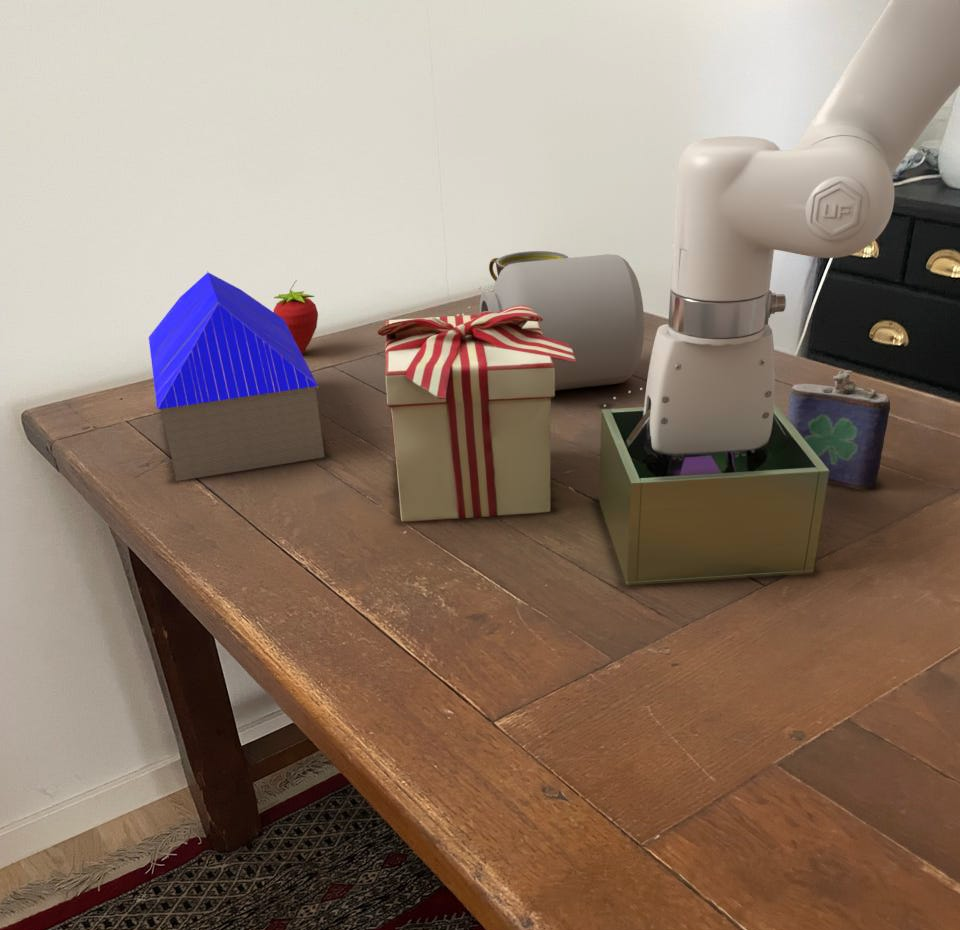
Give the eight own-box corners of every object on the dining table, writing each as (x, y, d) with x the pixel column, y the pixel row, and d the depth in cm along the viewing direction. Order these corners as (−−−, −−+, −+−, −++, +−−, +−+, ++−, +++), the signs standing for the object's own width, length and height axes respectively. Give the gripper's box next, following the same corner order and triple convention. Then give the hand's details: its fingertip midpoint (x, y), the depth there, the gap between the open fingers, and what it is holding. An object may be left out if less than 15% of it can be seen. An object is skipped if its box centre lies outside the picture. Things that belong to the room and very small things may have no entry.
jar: (653, 379, 112) (424, 358, 110) (623, 439, 126) (420, 422, 124) (654, 230, 116) (435, 208, 115) (626, 304, 131) (430, 286, 129)
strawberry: (324, 345, 142) (315, 271, 137) (321, 363, 136) (311, 286, 130) (282, 347, 142) (270, 273, 136) (276, 365, 136) (264, 289, 130)
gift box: (403, 545, 93) (385, 359, 83) (386, 463, 108) (369, 297, 98) (586, 524, 95) (589, 339, 85) (544, 447, 110) (543, 282, 100)
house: (163, 402, 126) (133, 271, 117) (293, 384, 130) (274, 255, 121) (174, 484, 106) (139, 333, 97) (328, 459, 110) (307, 311, 101)
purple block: (707, 495, 95) (711, 455, 93) (735, 547, 87) (740, 504, 84) (664, 498, 95) (667, 458, 93) (688, 550, 87) (692, 507, 84)
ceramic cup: (584, 331, 142) (585, 257, 136) (537, 350, 136) (536, 273, 131) (515, 316, 150) (513, 244, 144) (467, 333, 144) (464, 259, 138)
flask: (776, 475, 101) (790, 370, 95) (785, 464, 103) (800, 360, 97) (871, 494, 97) (892, 385, 91) (879, 482, 99) (900, 374, 93)
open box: (760, 493, 98) (772, 398, 93) (813, 575, 85) (829, 470, 80) (599, 504, 98) (601, 409, 93) (626, 587, 85) (631, 482, 80)
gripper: (807, 293, 84) (779, 496, 94) (604, 305, 83) (598, 507, 94) (839, 321, 78) (805, 535, 88) (619, 333, 77) (611, 546, 87)
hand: (699, 518), depth 91 cm, fingers closed on purple block, 4 cm apart
